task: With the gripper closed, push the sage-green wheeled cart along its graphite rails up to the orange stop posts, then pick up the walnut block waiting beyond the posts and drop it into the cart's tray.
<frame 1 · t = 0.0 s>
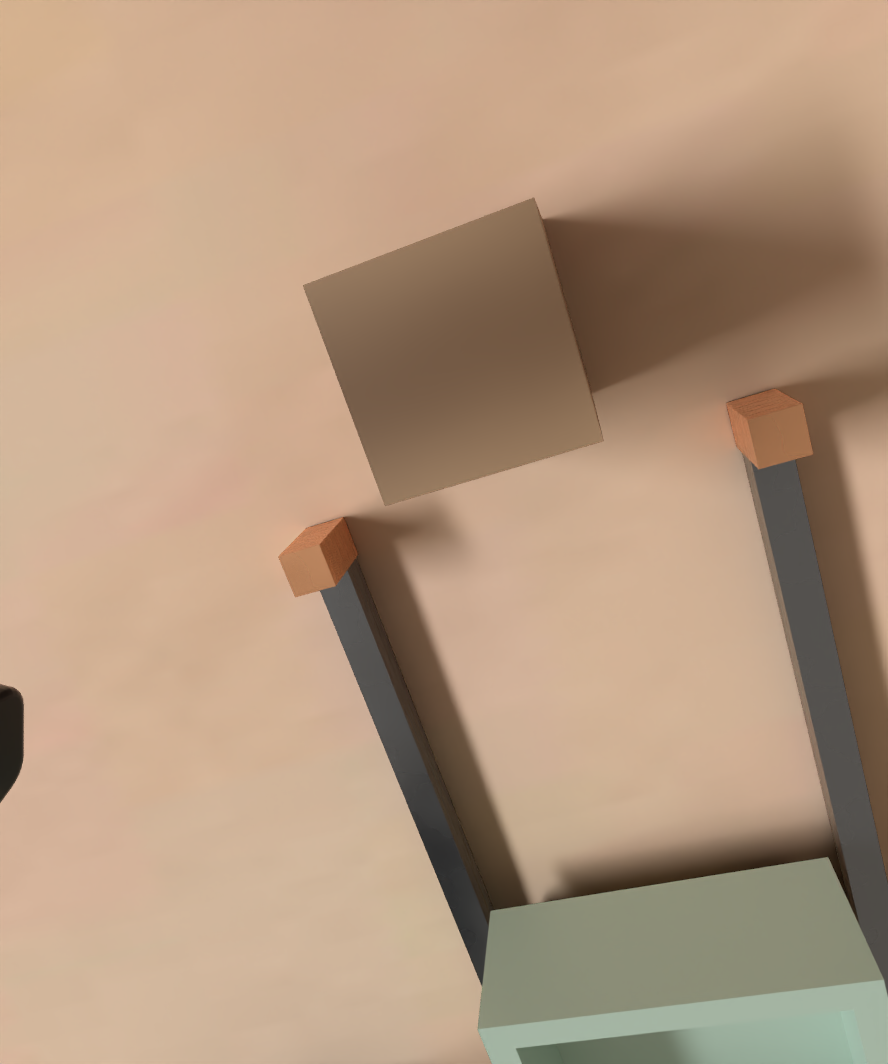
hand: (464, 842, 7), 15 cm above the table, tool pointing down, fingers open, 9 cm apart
walnut block: (483, 337, 20), on the table
rails: (602, 713, 23), on the table
cart: (698, 1050, 23), point 3 cm above the table, slide at 0.0 cm
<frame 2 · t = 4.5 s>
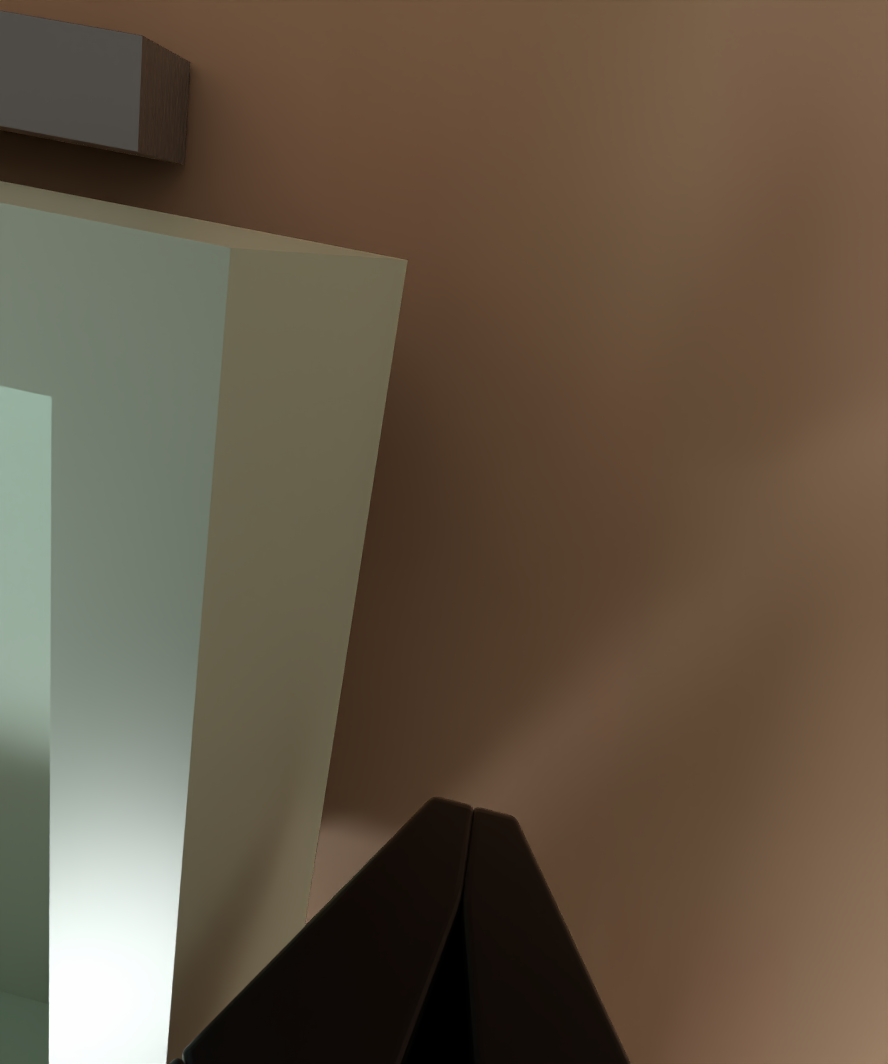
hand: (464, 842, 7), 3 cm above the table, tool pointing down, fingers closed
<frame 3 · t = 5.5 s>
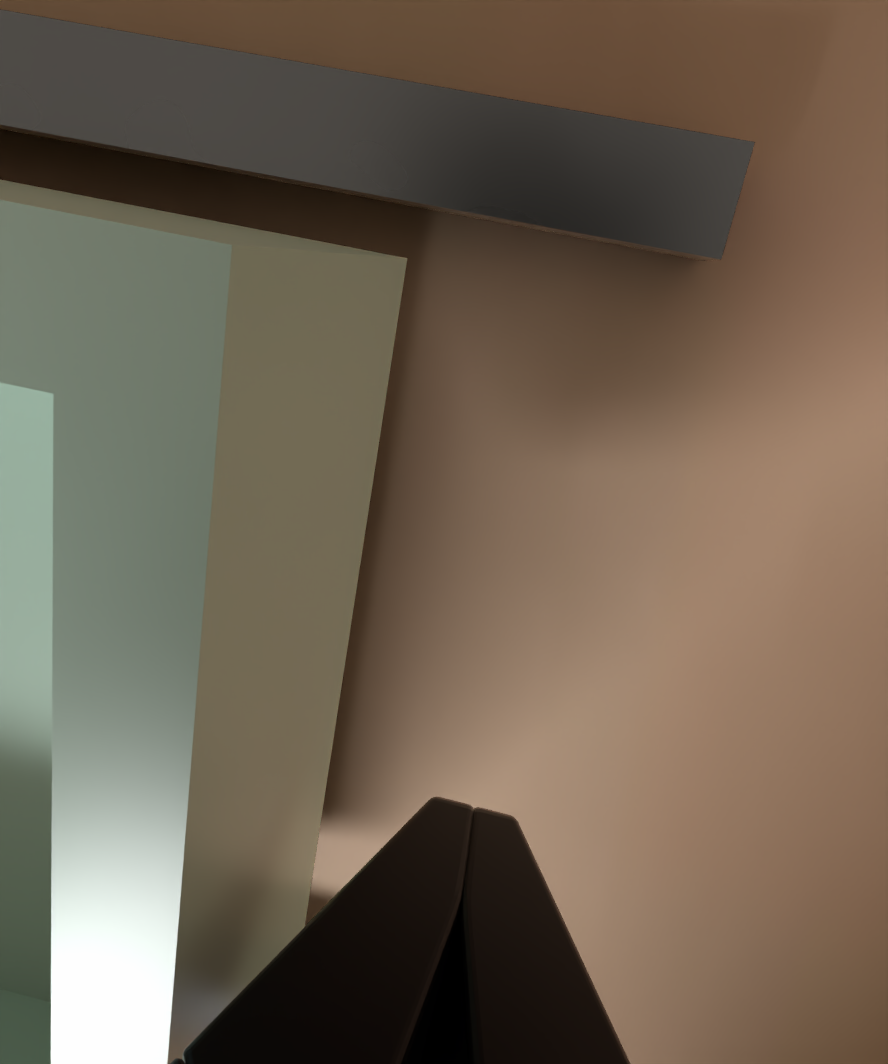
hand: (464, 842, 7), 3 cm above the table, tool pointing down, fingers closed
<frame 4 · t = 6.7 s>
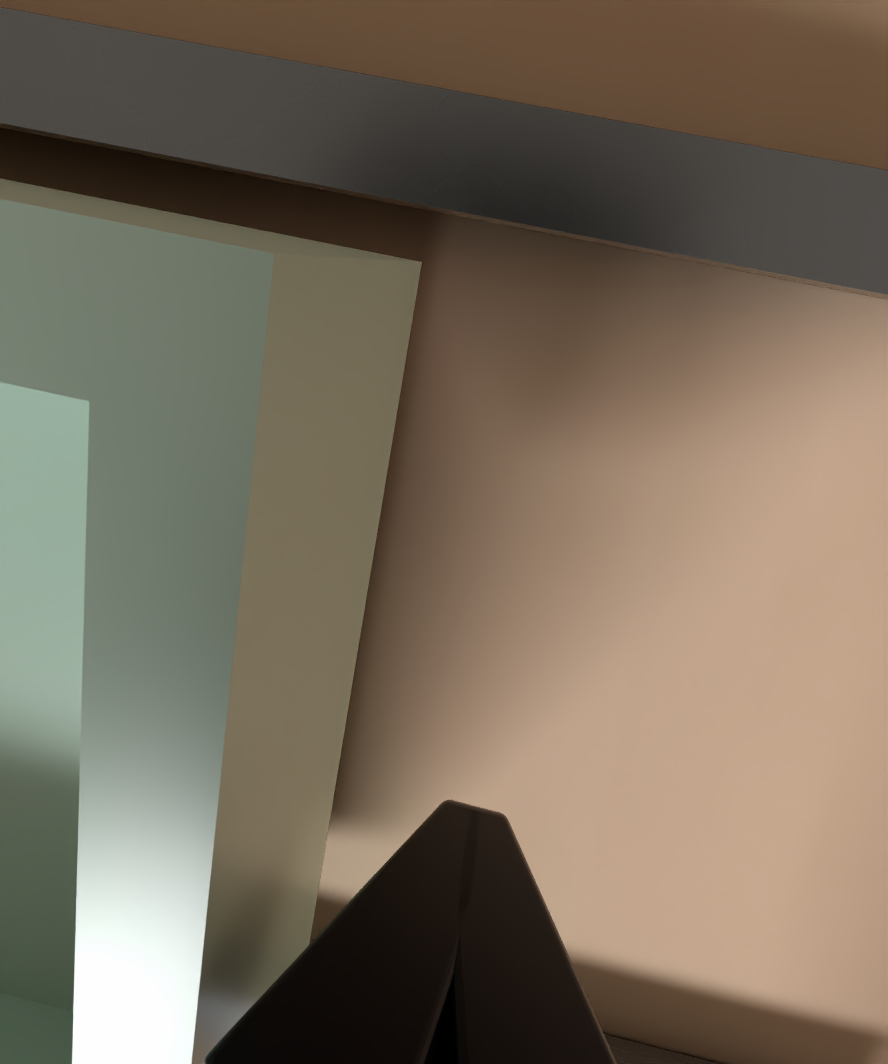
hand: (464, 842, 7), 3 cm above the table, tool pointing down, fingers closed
rails: (94, 591, 10), on the table
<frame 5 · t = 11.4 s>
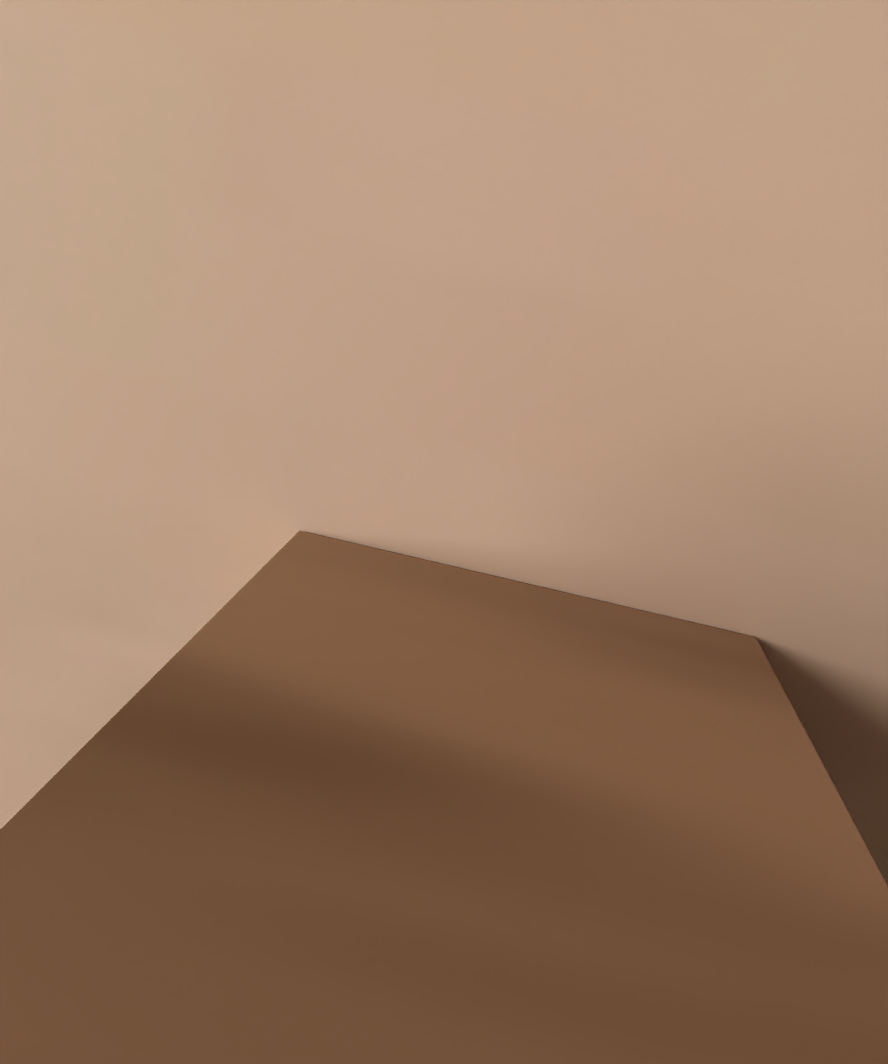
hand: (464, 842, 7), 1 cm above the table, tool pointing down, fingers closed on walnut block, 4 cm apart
walnut block: (475, 772, 8), on the table, touching gripper
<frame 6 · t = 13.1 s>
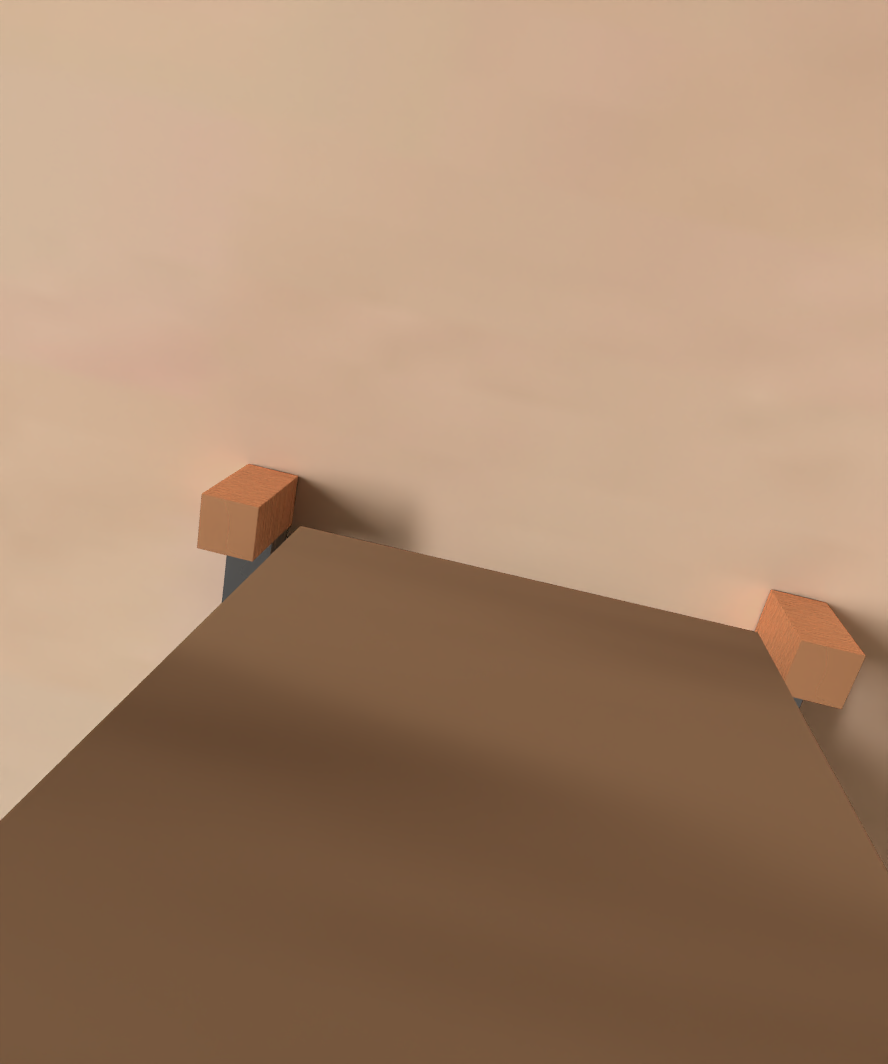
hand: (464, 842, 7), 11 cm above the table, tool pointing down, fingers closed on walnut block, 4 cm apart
walnut block: (476, 768, 8), point 9 cm above the table, touching gripper
rails: (457, 812, 20), on the table
when the fingers open (6 cm above the table, at t = 14.7 s): walnut block drops 3 cm, resting on cart.
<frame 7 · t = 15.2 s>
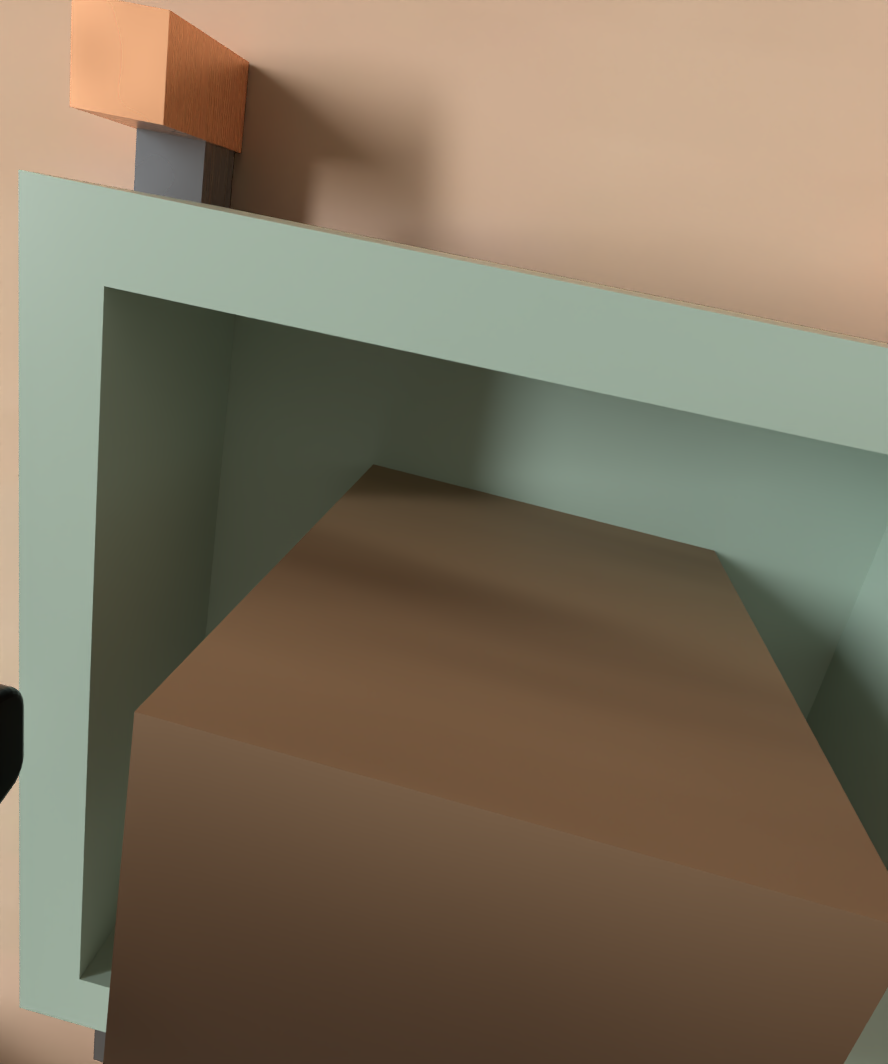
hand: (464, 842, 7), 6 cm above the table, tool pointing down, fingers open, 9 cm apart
walnut block: (499, 656, 11), point 3 cm above the table, touching cart
rails: (497, 635, 13), on the table
cart: (496, 665, 10), point 3 cm above the table, slide at 11.0 cm, touching walnut block
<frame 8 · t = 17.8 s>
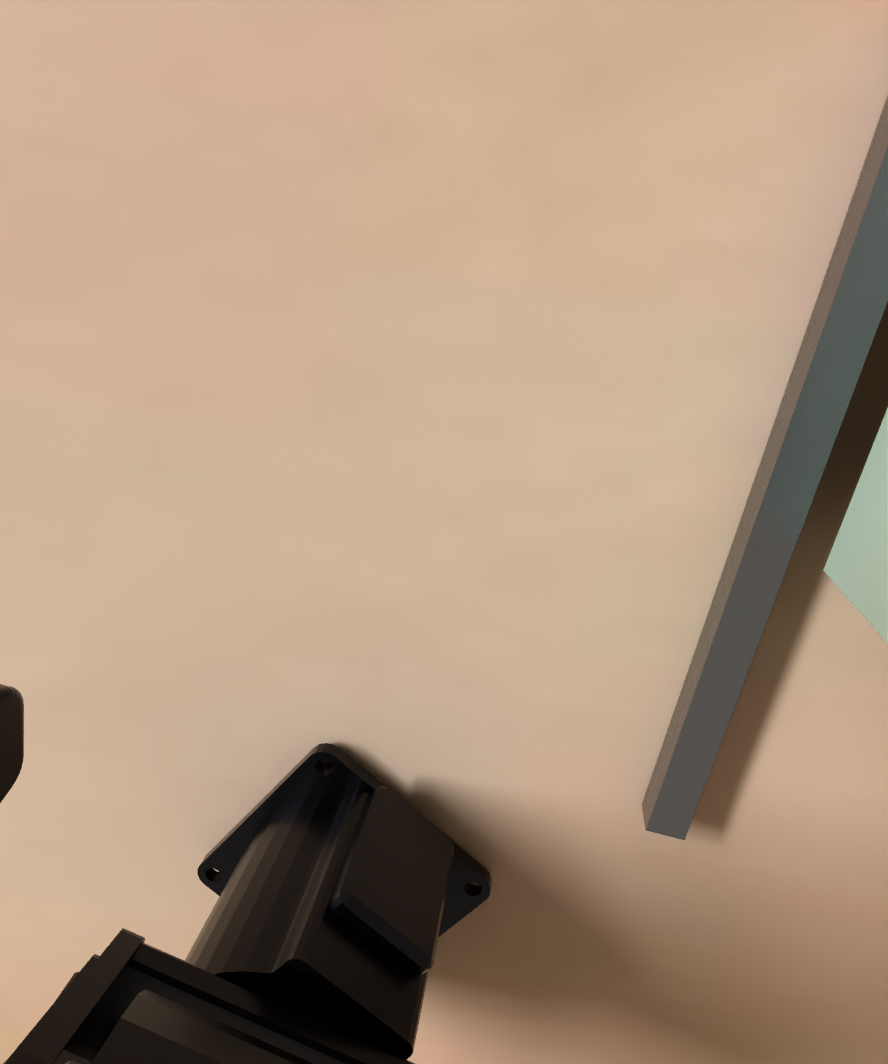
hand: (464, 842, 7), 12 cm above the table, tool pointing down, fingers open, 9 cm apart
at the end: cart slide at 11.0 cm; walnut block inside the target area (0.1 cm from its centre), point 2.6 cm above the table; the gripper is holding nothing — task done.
